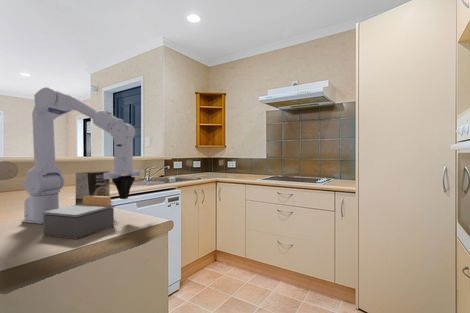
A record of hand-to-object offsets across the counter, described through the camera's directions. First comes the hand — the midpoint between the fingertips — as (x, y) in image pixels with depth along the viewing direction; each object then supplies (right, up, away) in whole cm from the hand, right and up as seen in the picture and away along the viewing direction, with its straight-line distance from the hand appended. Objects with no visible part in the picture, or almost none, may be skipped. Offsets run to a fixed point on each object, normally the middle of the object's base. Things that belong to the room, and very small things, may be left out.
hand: (123, 198), depth 78 cm
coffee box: (-13, -8, +5) cm, 16 cm away
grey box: (-7, -7, -11) cm, 15 cm away
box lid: (-7, -1, -11) cm, 13 cm away
